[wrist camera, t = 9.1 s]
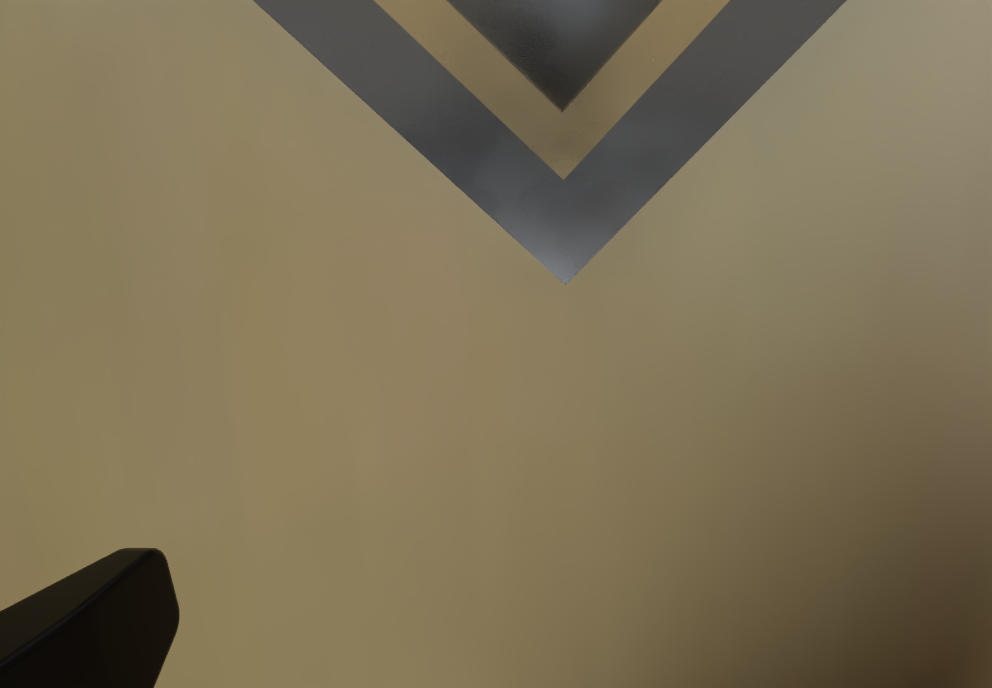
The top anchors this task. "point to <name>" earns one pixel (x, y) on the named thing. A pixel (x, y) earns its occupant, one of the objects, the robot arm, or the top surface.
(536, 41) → the picture frame
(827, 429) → the top surface
